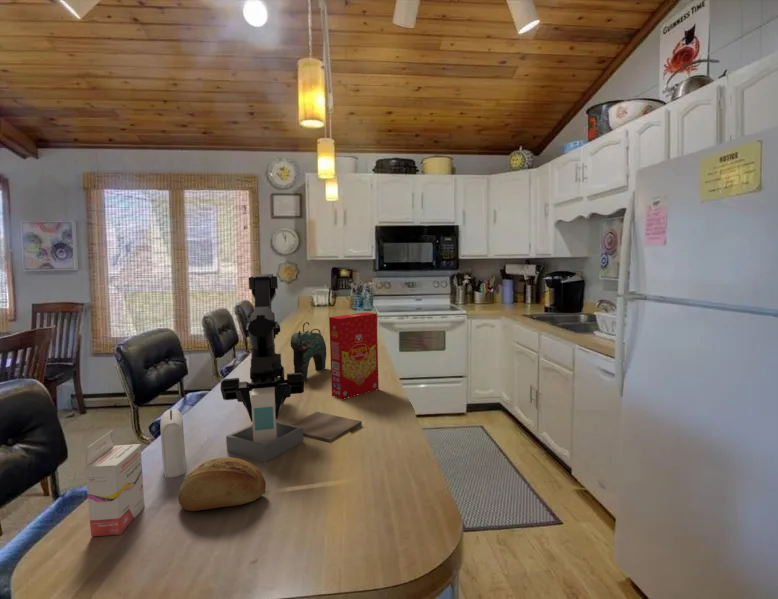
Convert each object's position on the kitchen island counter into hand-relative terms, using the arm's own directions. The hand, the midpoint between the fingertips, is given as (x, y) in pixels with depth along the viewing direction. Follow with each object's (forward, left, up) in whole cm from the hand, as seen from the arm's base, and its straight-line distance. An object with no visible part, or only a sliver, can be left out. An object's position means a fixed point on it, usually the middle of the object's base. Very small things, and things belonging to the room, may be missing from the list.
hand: (264, 419), depth 101 cm
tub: (-1, +1, -7) cm, 7 cm away
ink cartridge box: (-2, -31, -8) cm, 32 cm away
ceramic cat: (-35, +55, -8) cm, 65 cm away
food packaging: (-7, +45, -8) cm, 46 cm away
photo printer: (-11, -15, -8) cm, 20 cm away
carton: (-1, +1, -7) cm, 7 cm away
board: (+3, +16, -7) cm, 18 cm away
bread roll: (+9, -19, -8) cm, 23 cm away
